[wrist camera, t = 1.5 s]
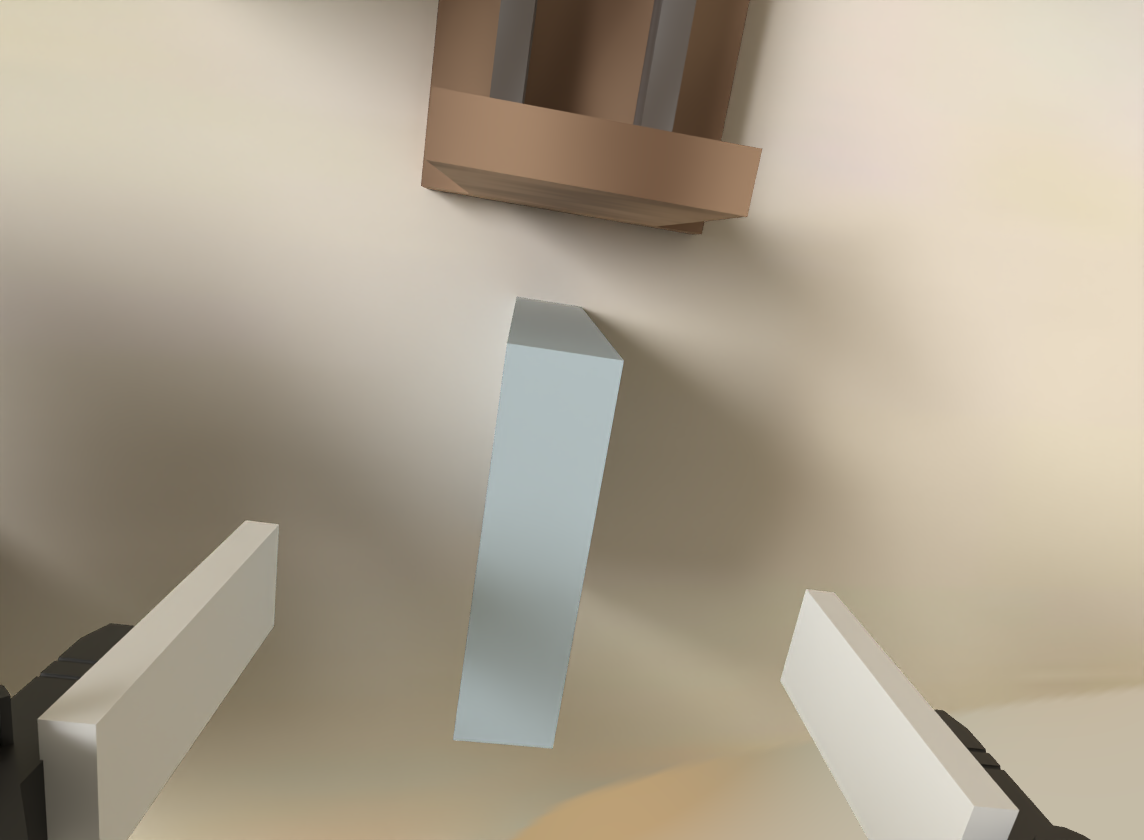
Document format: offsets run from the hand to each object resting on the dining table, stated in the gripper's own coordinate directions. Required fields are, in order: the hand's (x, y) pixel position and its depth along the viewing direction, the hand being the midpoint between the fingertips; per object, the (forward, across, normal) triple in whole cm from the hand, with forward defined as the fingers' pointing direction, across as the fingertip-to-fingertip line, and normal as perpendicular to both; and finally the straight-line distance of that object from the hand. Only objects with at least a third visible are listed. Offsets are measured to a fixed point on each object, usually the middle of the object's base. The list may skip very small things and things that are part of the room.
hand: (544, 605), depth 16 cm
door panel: (+16, 0, 0) cm, 16 cm away
